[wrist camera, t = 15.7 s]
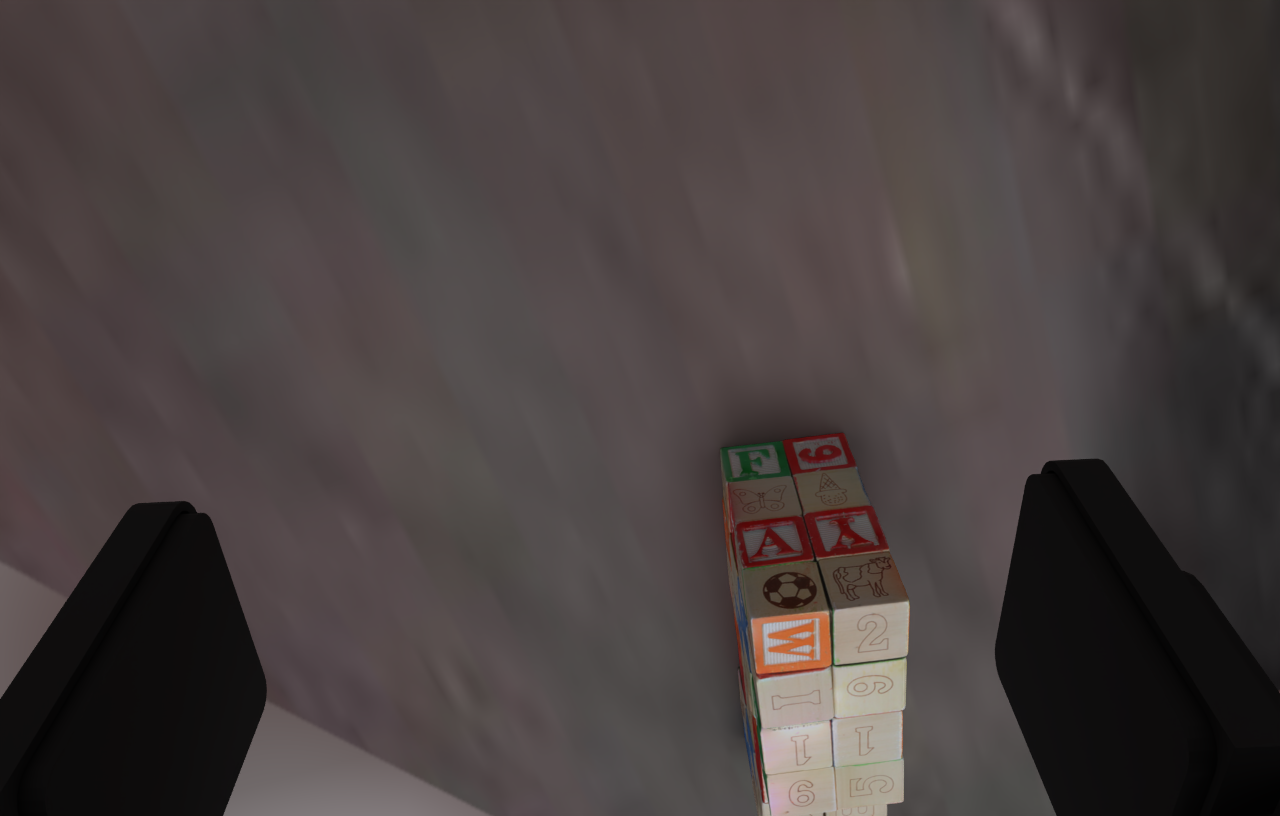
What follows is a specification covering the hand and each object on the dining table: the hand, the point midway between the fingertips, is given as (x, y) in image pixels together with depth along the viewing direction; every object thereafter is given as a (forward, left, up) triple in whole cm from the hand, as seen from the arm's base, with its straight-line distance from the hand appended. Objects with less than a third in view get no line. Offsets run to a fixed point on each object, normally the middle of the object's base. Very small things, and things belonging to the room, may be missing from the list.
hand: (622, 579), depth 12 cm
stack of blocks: (-8, +31, -32) cm, 45 cm away
